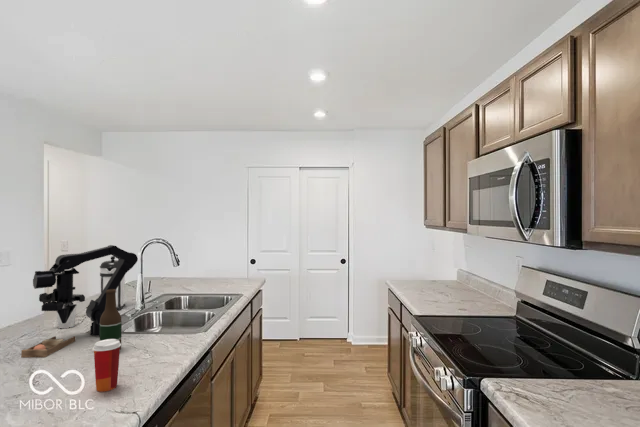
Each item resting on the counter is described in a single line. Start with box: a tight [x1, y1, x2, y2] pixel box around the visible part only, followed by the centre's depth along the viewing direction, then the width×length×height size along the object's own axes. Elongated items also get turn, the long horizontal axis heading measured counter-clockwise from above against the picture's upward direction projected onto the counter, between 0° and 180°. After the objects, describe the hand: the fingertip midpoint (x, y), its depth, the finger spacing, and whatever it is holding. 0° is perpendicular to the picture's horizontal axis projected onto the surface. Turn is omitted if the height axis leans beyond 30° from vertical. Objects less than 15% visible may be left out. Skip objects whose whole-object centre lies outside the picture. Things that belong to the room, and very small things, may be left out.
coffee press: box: [99, 255, 126, 312], centre depth 213 cm, size 17×16×30 cm
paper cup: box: [91, 339, 122, 393], centre depth 115 cm, size 8×8×14 cm
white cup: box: [56, 305, 77, 329], centre depth 178 cm, size 8×8×10 cm
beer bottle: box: [98, 289, 123, 350], centre depth 147 cm, size 8×8×24 cm
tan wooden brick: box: [42, 338, 64, 349], centre depth 147 cm, size 6×2×3 cm, turn 94°
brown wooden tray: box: [20, 336, 76, 358], centre depth 146 cm, size 9×18×4 cm, turn 1°
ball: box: [34, 344, 46, 349], centre depth 141 cm, size 4×4×4 cm
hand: (64, 323), depth 154 cm, fingers closed
